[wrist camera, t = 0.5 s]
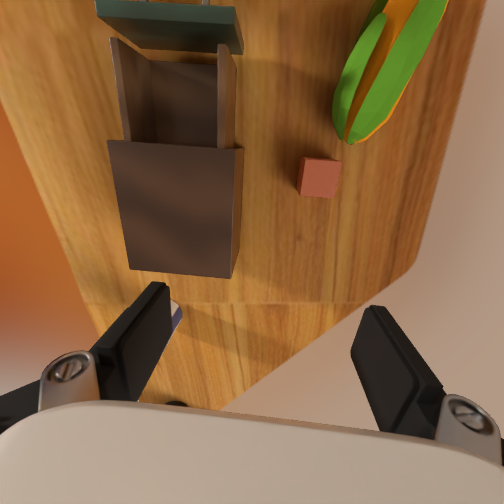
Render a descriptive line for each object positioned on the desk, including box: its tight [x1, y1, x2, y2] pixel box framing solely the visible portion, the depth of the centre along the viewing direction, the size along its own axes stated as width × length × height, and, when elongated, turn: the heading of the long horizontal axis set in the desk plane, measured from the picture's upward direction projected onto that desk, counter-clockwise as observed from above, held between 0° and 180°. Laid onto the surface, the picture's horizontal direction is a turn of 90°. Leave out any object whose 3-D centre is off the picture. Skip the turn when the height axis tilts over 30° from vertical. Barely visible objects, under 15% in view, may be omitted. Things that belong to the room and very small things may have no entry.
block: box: [296, 157, 342, 198], centre depth 31 cm, size 4×4×4 cm
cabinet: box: [107, 140, 244, 279], centre depth 32 cm, size 16×14×10 cm
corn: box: [332, 0, 449, 145], centre depth 24 cm, size 7×8×20 cm
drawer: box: [95, 0, 244, 149], centre depth 26 cm, size 19×12×8 cm, turn 176°
